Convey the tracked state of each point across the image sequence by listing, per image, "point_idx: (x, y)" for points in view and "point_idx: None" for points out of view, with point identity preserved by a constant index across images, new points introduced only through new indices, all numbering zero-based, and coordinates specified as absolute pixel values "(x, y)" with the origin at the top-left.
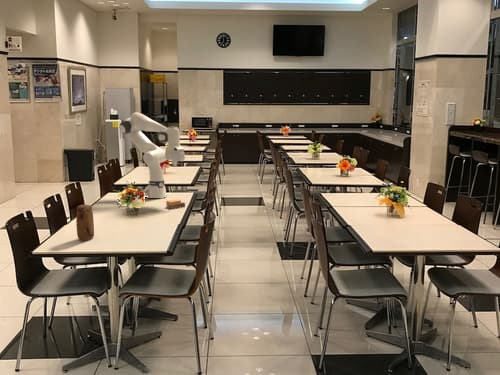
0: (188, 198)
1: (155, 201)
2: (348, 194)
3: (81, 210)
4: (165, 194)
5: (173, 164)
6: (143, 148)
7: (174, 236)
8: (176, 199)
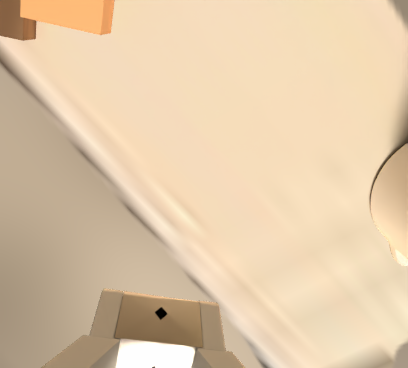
0: (211, 271)
1: (366, 70)
2: None
3: None
4: (389, 232)
5: (178, 325)
6: None
7: None
8: (89, 30)
